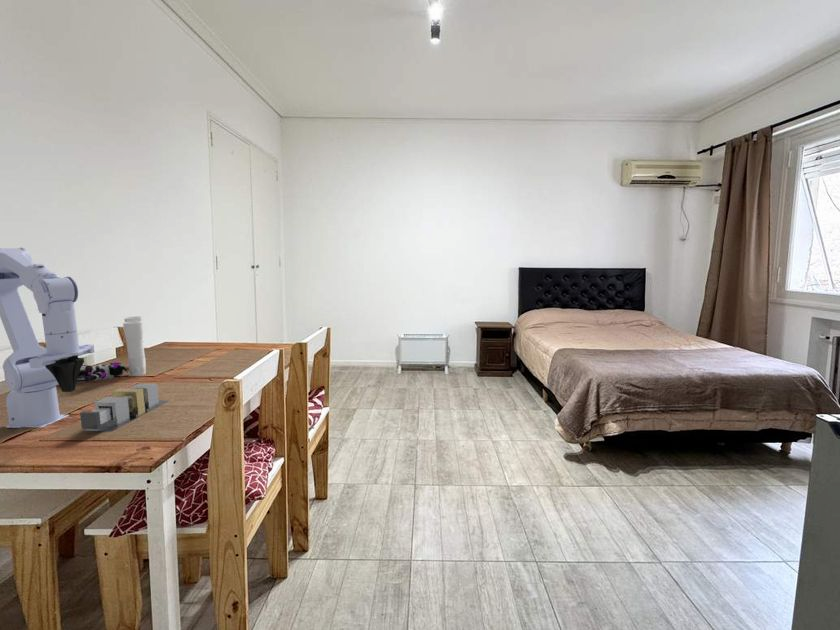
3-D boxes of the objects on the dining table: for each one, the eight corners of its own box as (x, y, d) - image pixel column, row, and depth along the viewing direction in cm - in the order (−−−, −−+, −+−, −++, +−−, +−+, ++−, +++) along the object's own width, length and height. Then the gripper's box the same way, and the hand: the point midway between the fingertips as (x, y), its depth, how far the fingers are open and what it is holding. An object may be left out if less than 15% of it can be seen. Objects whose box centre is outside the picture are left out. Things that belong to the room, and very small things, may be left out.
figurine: (52, 356, 153) (143, 354, 158) (53, 376, 153) (144, 373, 158) (1, 368, 130) (110, 365, 135) (2, 392, 130) (111, 388, 135)
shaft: (81, 428, 101) (79, 412, 101) (140, 400, 120) (139, 386, 120) (97, 429, 101) (95, 413, 101) (153, 400, 120) (152, 387, 119)
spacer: (114, 415, 113) (111, 391, 112) (122, 412, 115) (119, 388, 114) (138, 416, 112) (136, 391, 111) (145, 412, 115) (143, 388, 114)
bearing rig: (83, 432, 104) (80, 406, 103) (145, 402, 125) (143, 379, 124) (111, 433, 103) (108, 407, 102) (169, 402, 124) (167, 380, 123)
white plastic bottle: (129, 365, 163) (124, 317, 160) (147, 363, 166) (142, 315, 163) (128, 377, 149) (122, 324, 146) (147, 375, 151) (142, 322, 149)
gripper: (48, 338, 92) (56, 402, 94) (103, 326, 106) (109, 381, 108) (16, 338, 92) (25, 401, 94) (75, 326, 107) (82, 381, 109)
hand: (68, 391), depth 101 cm, fingers closed
